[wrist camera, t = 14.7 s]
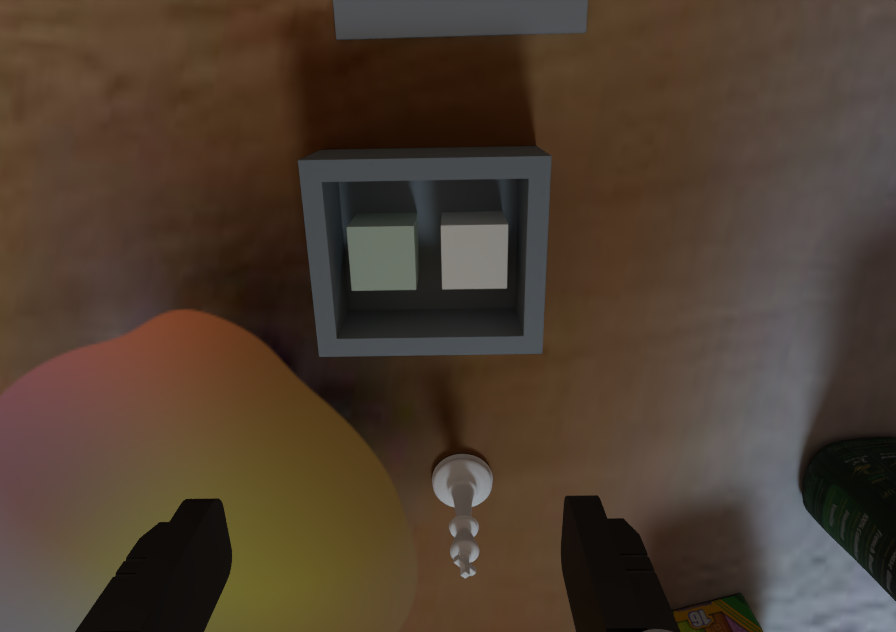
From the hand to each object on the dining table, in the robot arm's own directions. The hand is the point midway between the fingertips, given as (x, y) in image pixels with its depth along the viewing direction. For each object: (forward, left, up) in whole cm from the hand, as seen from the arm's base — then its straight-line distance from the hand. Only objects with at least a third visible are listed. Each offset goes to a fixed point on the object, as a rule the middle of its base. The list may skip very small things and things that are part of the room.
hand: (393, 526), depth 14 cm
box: (0, 0, -28) cm, 28 cm away
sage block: (+3, 0, -27) cm, 27 cm away
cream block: (-3, 0, -27) cm, 27 cm away
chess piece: (-2, +20, -28) cm, 35 cm away
